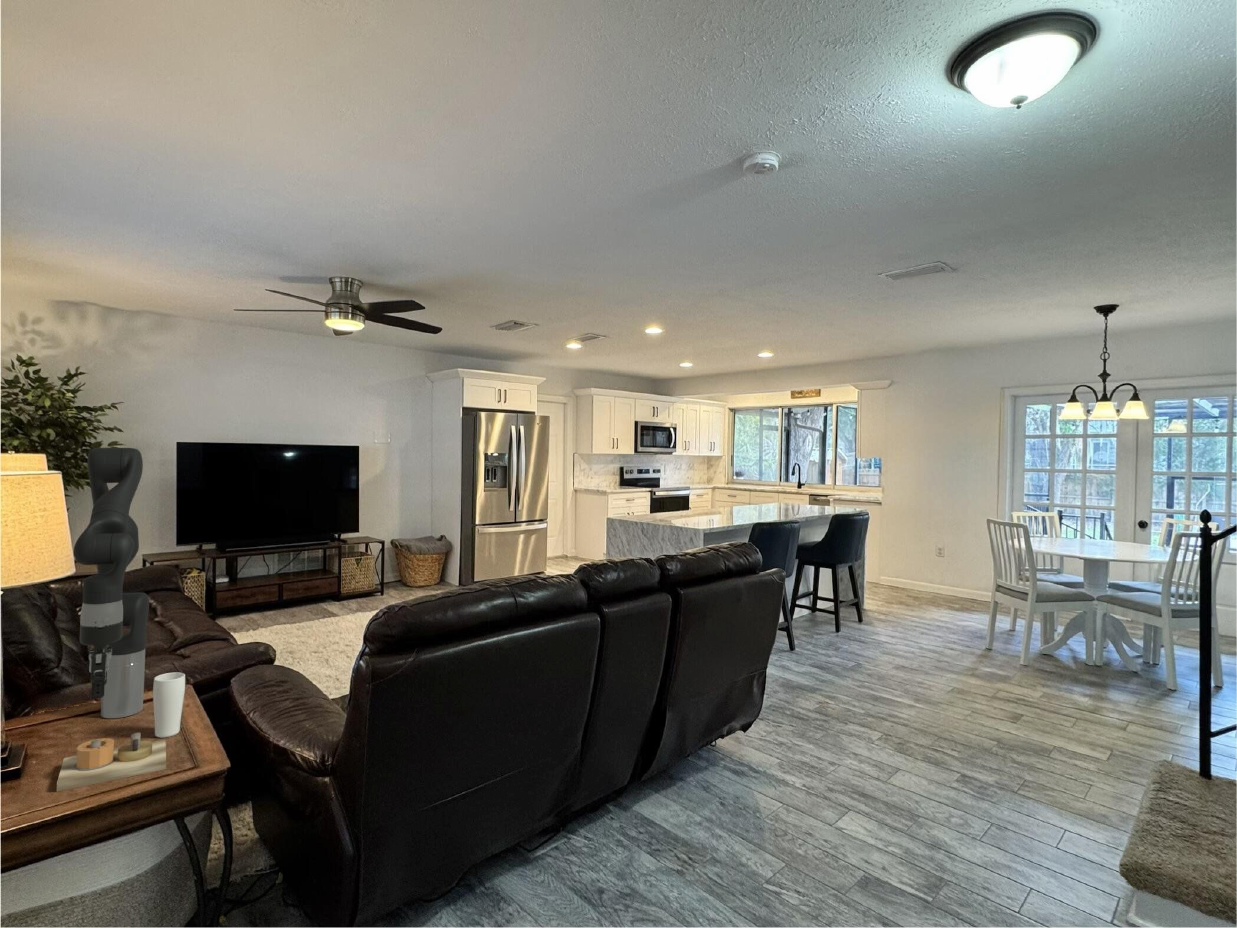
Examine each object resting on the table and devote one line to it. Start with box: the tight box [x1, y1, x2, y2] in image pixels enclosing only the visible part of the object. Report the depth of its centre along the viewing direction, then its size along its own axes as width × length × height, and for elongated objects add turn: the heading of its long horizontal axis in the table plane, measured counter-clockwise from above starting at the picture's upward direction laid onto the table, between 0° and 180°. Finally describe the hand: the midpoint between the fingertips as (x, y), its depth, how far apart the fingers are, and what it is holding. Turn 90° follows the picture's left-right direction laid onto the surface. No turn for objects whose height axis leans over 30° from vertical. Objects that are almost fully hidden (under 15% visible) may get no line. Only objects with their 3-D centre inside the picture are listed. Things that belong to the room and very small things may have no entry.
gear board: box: [56, 732, 167, 792], centre depth 145 cm, size 13×19×7 cm
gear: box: [76, 737, 115, 769], centre depth 143 cm, size 6×6×4 cm
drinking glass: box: [152, 671, 186, 739], centre depth 163 cm, size 7×7×15 cm
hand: (99, 691), depth 144 cm, fingers open, 8 cm apart
